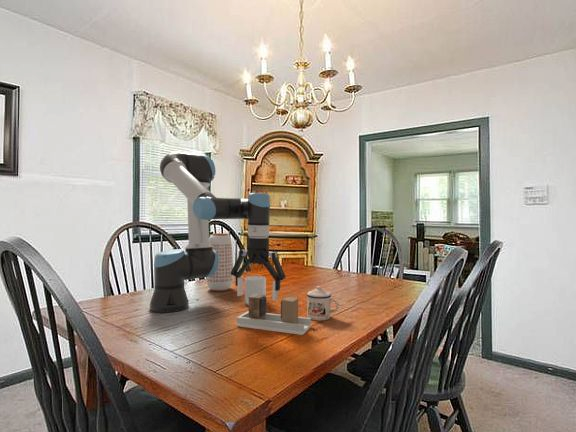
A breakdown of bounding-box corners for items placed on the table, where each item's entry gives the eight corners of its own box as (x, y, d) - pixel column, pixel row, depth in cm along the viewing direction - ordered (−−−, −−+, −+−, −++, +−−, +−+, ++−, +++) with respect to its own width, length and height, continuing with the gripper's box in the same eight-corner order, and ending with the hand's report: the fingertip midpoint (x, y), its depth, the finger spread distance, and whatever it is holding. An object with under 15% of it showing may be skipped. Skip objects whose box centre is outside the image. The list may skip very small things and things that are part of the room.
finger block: (248, 322, 123) (248, 296, 123) (255, 318, 128) (255, 293, 128) (260, 324, 122) (260, 298, 122) (266, 320, 126) (266, 295, 126)
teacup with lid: (303, 319, 131) (303, 287, 131) (310, 312, 139) (310, 283, 139) (335, 323, 127) (336, 290, 127) (340, 316, 135) (341, 285, 135)
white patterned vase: (230, 292, 173) (230, 234, 173) (203, 292, 173) (203, 234, 173) (235, 286, 187) (235, 233, 186) (209, 286, 187) (209, 232, 186)
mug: (259, 307, 147) (259, 280, 146) (240, 305, 150) (240, 279, 150) (272, 301, 157) (272, 276, 157) (254, 298, 161) (255, 274, 161)
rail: (236, 326, 123) (237, 297, 123) (248, 319, 131) (248, 291, 131) (302, 334, 114) (303, 303, 114) (310, 326, 123) (310, 297, 122)
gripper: (221, 236, 125) (220, 295, 126) (287, 240, 117) (286, 304, 117) (232, 234, 132) (231, 291, 133) (295, 238, 124) (294, 298, 124)
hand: (257, 297), depth 125 cm, fingers open, 13 cm apart
